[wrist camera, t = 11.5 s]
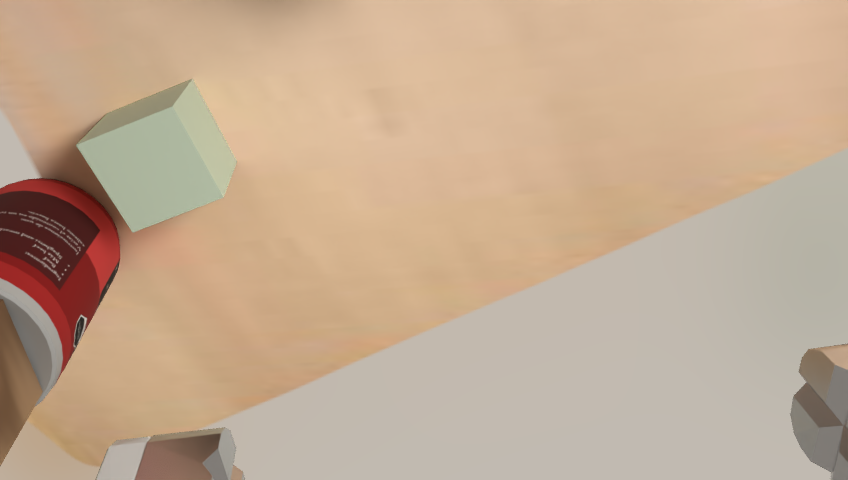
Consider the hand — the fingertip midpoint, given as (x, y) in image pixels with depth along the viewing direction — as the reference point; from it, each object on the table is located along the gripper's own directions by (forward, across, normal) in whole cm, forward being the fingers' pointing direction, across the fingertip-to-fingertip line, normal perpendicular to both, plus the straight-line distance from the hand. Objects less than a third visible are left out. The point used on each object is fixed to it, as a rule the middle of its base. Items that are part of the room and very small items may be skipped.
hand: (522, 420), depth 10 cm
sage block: (+30, +13, +6) cm, 33 cm away
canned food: (+30, +21, +11) cm, 38 cm away
